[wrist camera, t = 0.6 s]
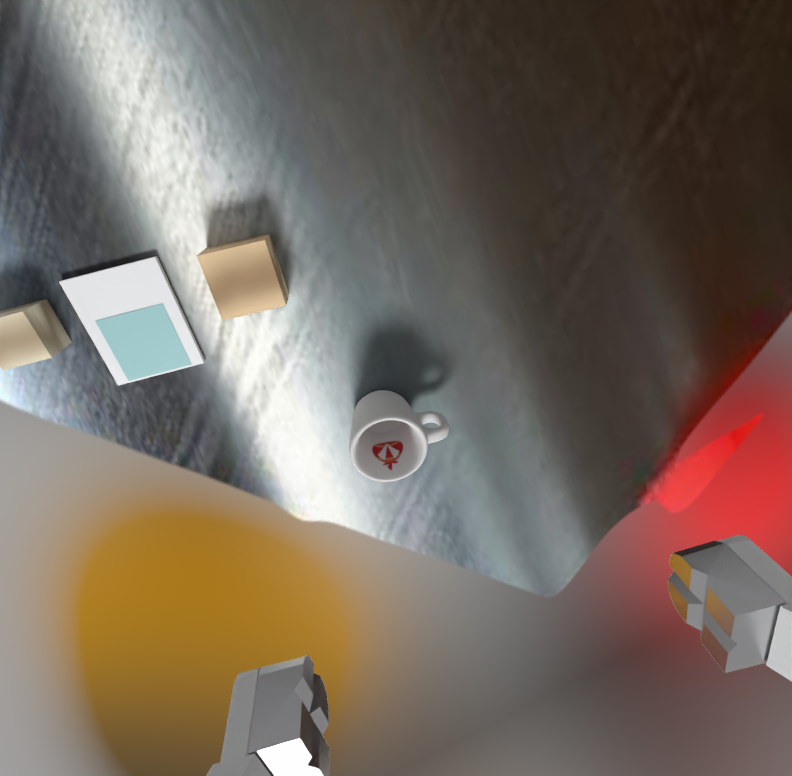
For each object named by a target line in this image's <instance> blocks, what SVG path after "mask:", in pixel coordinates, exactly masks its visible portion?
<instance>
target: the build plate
mask: <svg viewBox="0 0 792 776" xmlns="http://www.w3.org/2000/svg"><path fill="white" fill-rule="evenodd" d="M59 283H60V285H61V286H62V288H63V290H64V292H65V293H66V295H67V297H68V299H69V300H70V302H71V304H72V306H73V307H74V309H75V311H76V313H77V314H78V316H79V318H80V319H81V321H82V323H83V325H84V326H85V328H86V330H87V332H88V333H89V335H90V337H91V339H92V340H93V342H94V344H95V346H96V347H97V349H98V351H99V353H100V354H101V356H102V358H103V360H104V361H105V363H106V365H107V367H108V368H109V370H110V372H111V374H112V375H113V377H114V379H115V381H116V382H117V384H118V385H122V384H126V383H130V382H133V381H137V380H141V379H145V378H149V377H153V376H156V375H160V374H164V373H168V372H172V371H175V370H179V369H183V368H187V367H191V366H195V365H198V364H202V363H204V362H205V359H204V357H203V355H202V353H201V350H200V348H199V346H198V344H197V342H196V339H195V337H194V335H193V333H192V331H191V329H190V326H189V324H188V322H187V320H186V318H185V316H184V313H183V311H182V309H181V307H180V305H179V302H178V300H177V298H176V296H175V294H174V292H173V289H172V287H171V285H170V283H169V281H168V279H167V276H166V274H165V272H164V270H163V268H162V265H161V263H160V261H159V259H158V257H157V256H154V257H150V258H146V259H142V260H139V261H135V262H131V263H127V264H123V265H119V266H115V267H111V268H108V269H104V270H100V271H96V272H92V273H88V274H84V275H80V276H77V277H73V278H69V279H65V280H62V281H59Z"/></svg>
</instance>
